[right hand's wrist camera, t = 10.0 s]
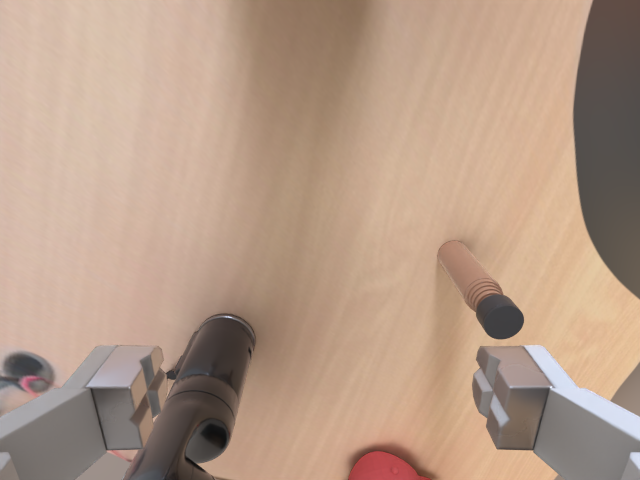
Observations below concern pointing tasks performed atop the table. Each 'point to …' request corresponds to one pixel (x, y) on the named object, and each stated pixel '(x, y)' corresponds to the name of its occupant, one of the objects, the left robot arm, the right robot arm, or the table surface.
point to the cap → (499, 316)
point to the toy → (383, 468)
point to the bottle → (467, 273)
